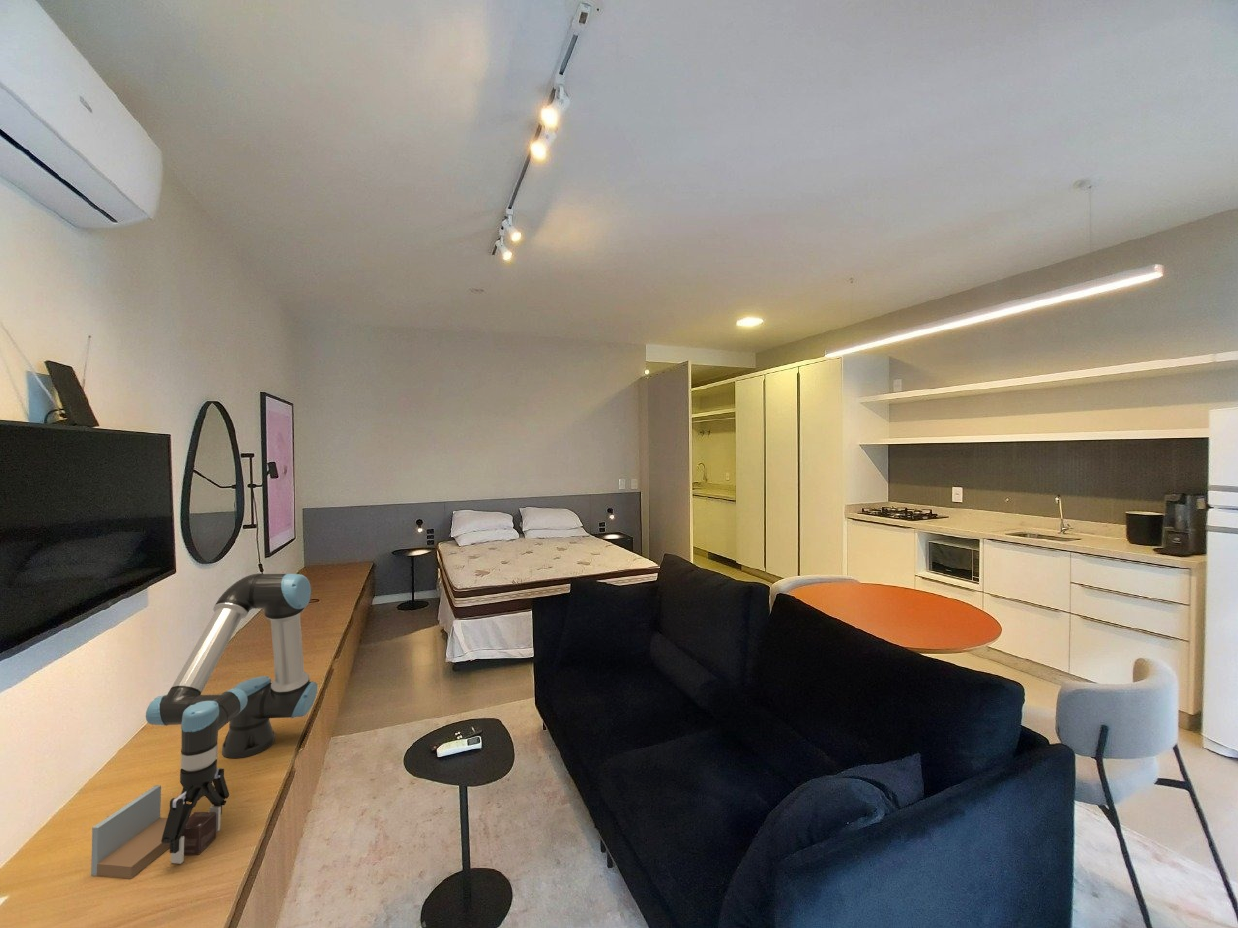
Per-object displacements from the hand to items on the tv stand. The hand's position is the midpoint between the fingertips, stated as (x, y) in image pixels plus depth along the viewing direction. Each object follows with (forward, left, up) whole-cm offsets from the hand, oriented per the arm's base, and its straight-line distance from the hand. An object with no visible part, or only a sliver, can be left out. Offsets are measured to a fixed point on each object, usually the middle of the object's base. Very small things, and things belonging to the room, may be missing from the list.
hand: (196, 845), depth 133 cm
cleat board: (+3, -12, 0) cm, 12 cm away
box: (0, 0, -1) cm, 1 cm away
